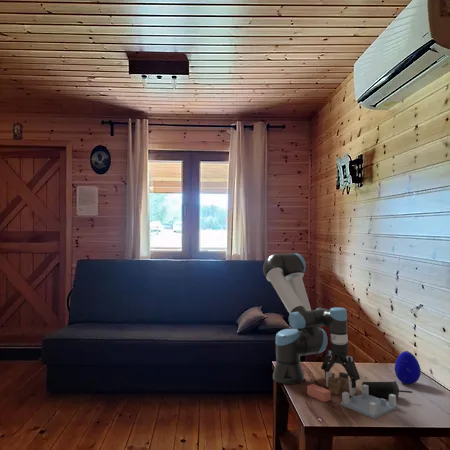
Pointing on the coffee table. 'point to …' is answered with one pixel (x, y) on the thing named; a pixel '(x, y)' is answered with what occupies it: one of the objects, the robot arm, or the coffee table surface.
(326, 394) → the red rectangular block
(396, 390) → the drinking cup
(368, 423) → the coffee table surface
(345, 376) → the brown blocky piece
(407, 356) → the ornament
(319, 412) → the coffee table surface
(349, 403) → the jig
